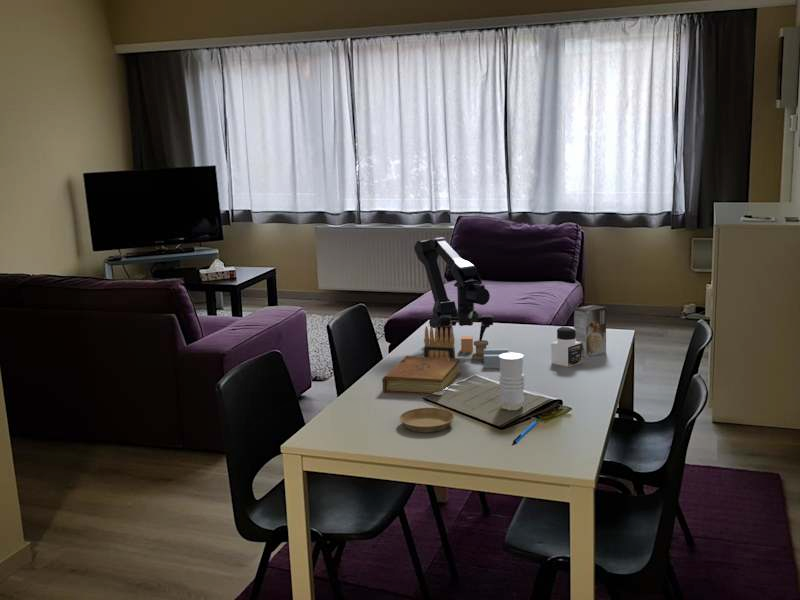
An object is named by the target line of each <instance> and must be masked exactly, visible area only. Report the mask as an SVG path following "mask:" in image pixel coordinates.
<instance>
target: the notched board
mask: <svg viewBox="0 0 800 600" xmlns="http://www.w3.org/2000/svg"><path fill="white" fill-rule="evenodd" d="M503 353H509V348H486V349H484V360H483V368H484V369H500V358H499V355H500V354H503Z"/></svg>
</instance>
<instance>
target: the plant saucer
mask: <svg viewBox="0 0 800 600" xmlns="http://www.w3.org/2000/svg"><path fill="white" fill-rule="evenodd" d="M454 419H455V415H454V413H453V412H451V411H450V410H447V409H445V408H440V407H419V408H415V409H414V408H413V409H410V410H407V411H405V412H403V413H401V414H400V415H399V421H400V422H401V423H402V425H404V427H406V428H407V429H409V430H410V431H413V432H418V433H435V432H438V431H439V432H440V431H442V430H444V429H446V428H447V427H449V425H450V424H452V423H453V421H454Z"/></svg>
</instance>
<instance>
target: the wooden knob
mask: <svg viewBox="0 0 800 600" xmlns="http://www.w3.org/2000/svg"><path fill="white" fill-rule="evenodd" d="M488 345H489V341H488V340H483V339H482V340H473V346H475V353H474V352H473V354H472V355H471V356H472V359H473V360H476V361H484V349H487V346H488Z"/></svg>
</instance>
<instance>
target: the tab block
mask: <svg viewBox="0 0 800 600" xmlns="http://www.w3.org/2000/svg"><path fill="white" fill-rule="evenodd" d="M460 346H461V347H460V348H461V349H460V351H461V352H473V353H474V339H473V335H462V336H460Z"/></svg>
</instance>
